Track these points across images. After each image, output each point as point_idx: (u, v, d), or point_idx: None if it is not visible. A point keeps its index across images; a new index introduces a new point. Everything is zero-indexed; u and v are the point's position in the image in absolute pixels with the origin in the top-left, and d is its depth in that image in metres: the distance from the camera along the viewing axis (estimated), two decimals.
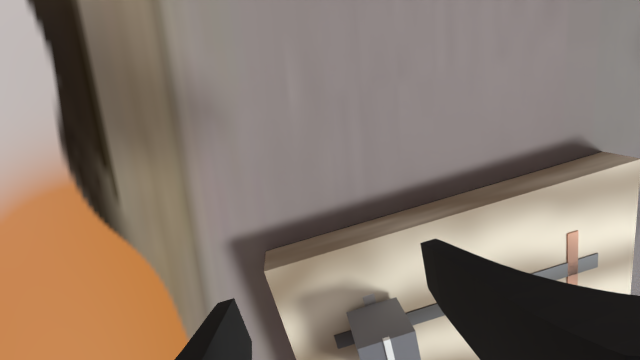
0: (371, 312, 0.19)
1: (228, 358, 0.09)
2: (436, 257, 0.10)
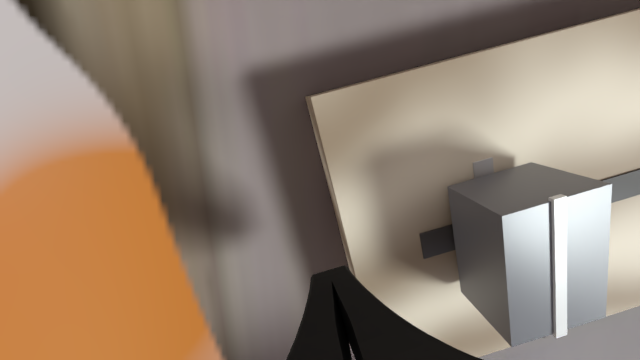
0: (495, 180, 0.11)
1: (340, 323, 0.09)
2: (334, 288, 0.10)
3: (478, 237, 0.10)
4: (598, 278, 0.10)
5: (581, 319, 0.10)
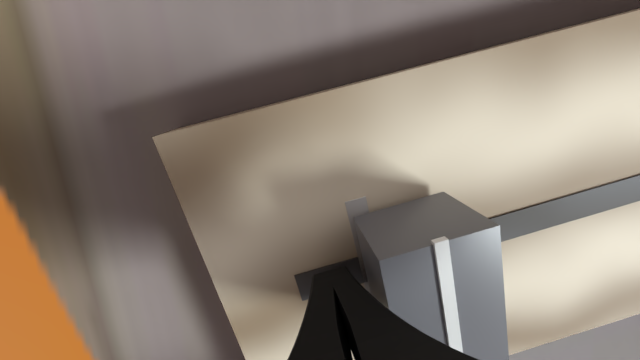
0: (399, 212, 0.10)
1: (341, 323, 0.09)
2: (333, 288, 0.10)
3: (374, 275, 0.10)
4: (496, 321, 0.09)
5: None
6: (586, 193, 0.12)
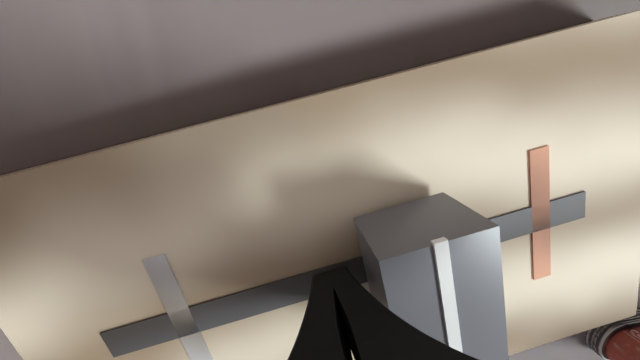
0: (399, 213, 0.10)
1: (341, 322, 0.09)
2: (333, 288, 0.10)
3: (373, 276, 0.10)
4: (495, 322, 0.09)
5: None
6: None
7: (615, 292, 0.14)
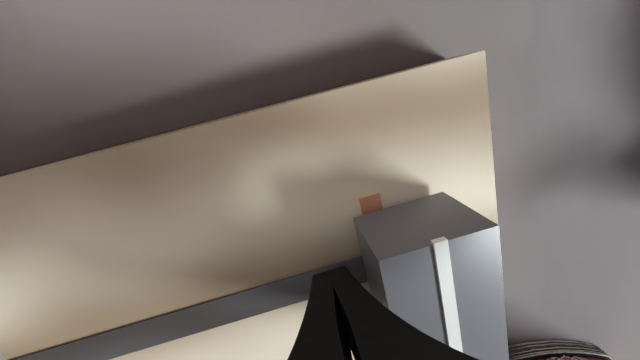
0: (399, 212, 0.10)
1: (341, 323, 0.09)
2: (333, 288, 0.10)
3: (373, 276, 0.10)
4: (495, 321, 0.09)
5: None
6: (247, 293, 0.12)
7: None
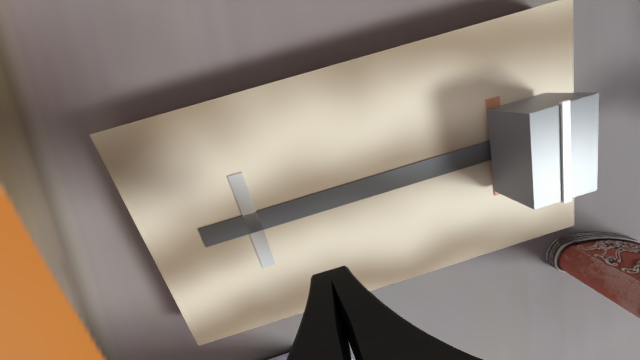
0: (521, 102, 0.16)
1: (340, 323, 0.09)
2: (334, 288, 0.10)
3: (511, 138, 0.15)
4: (591, 160, 0.15)
5: (580, 191, 0.15)
6: (408, 168, 0.17)
7: (556, 207, 0.20)
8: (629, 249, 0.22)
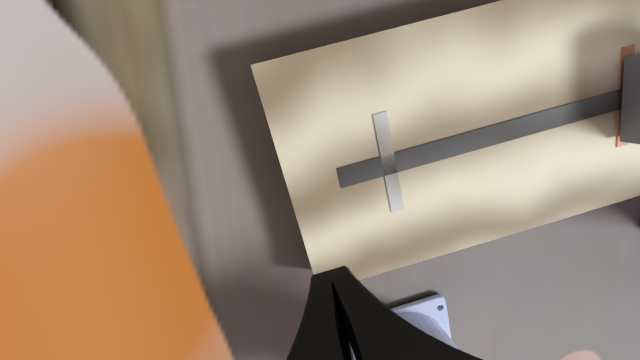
0: None
1: (340, 323, 0.09)
2: (334, 288, 0.10)
3: None
4: None
5: None
6: (540, 114, 0.18)
7: None
8: None
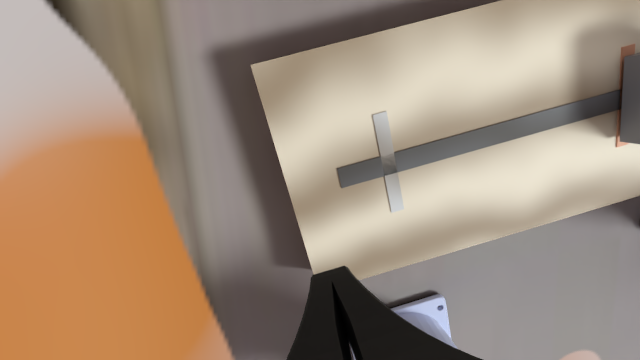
0: None
1: (340, 323, 0.09)
2: (334, 288, 0.10)
3: None
4: None
5: None
6: (540, 114, 0.18)
7: None
8: None
